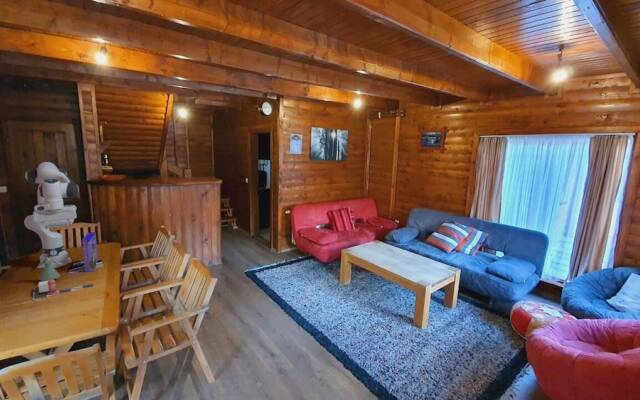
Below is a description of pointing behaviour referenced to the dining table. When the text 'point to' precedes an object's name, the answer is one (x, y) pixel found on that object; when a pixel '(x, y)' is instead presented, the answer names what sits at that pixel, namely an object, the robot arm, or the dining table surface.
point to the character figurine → (48, 269)
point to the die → (43, 286)
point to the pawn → (51, 287)
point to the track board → (62, 291)
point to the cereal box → (90, 251)
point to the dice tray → (36, 291)
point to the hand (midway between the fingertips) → (56, 227)
